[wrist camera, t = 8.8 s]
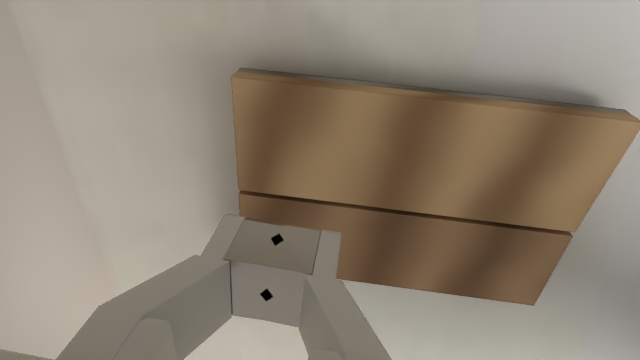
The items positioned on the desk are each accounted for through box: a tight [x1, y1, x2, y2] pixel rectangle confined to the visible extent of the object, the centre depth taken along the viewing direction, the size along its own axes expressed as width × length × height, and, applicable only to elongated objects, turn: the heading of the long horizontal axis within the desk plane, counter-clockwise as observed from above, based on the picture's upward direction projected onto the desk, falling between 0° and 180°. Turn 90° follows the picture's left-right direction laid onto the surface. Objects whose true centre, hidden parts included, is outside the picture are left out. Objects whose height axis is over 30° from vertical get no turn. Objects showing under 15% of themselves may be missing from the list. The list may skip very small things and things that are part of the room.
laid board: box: [239, 190, 573, 305], centre depth 24 cm, size 20×6×2 cm, turn 85°
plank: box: [231, 68, 640, 232], centre depth 20 cm, size 20×7×2 cm, turn 85°
